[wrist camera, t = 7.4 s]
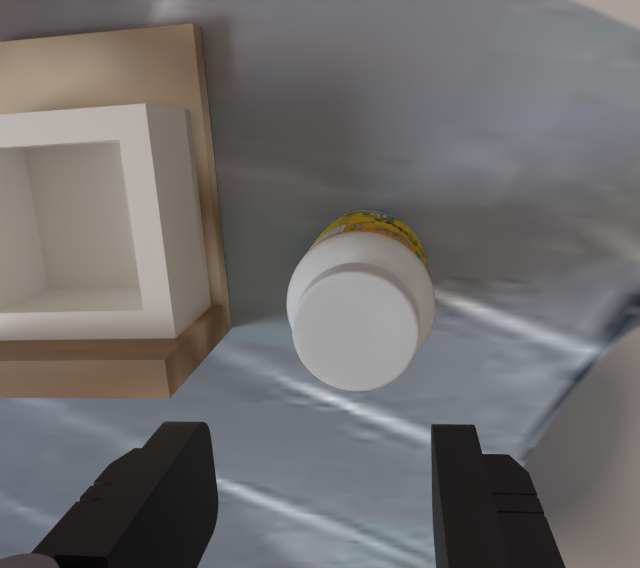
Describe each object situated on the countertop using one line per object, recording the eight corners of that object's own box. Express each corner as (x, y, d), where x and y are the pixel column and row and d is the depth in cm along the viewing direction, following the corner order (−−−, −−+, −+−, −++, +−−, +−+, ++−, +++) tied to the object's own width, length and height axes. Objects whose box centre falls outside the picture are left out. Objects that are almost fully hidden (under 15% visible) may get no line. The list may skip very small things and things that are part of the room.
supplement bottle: (289, 256, 27) (234, 317, 18) (377, 183, 26) (365, 209, 17) (361, 340, 28) (342, 441, 18) (450, 274, 26) (478, 347, 17)
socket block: (211, 306, 27) (175, 338, 23) (38, 310, 28) (-27, 340, 24) (189, 109, 25) (145, 103, 21) (3, 123, 26) (-76, 120, 22)
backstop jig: (231, 327, 28) (170, 397, 21) (48, 330, 30) (-73, 397, 22) (200, 27, 25) (112, -22, 17) (-4, 47, 27) (-169, 10, 19)
